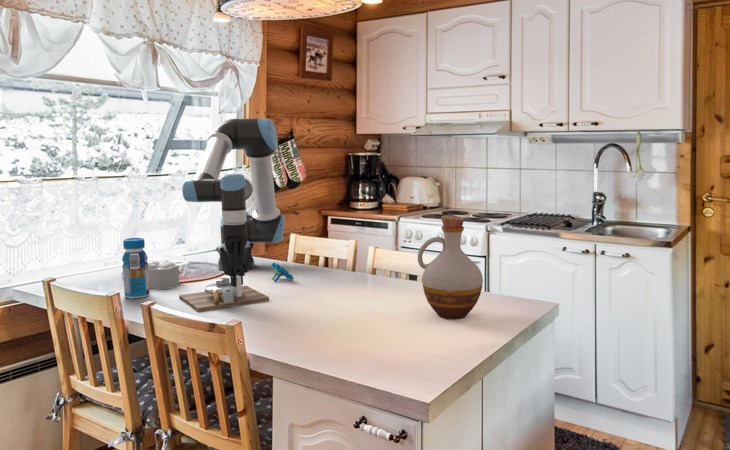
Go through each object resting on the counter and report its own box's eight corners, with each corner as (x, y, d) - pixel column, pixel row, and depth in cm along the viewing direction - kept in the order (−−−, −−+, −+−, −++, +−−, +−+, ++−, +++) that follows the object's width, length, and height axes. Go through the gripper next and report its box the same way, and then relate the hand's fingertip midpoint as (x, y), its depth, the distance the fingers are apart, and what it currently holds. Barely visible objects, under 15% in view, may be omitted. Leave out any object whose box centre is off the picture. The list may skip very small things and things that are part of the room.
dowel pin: (213, 303, 193) (212, 290, 192) (217, 302, 194) (217, 289, 193) (214, 304, 191) (214, 291, 191) (219, 304, 192) (219, 290, 192)
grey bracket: (203, 291, 206) (202, 277, 205) (238, 288, 210) (238, 274, 209) (209, 305, 188) (208, 289, 188) (247, 301, 192) (247, 286, 192)
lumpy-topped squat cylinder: (166, 289, 218) (164, 265, 217) (136, 287, 222) (134, 264, 221) (183, 283, 228) (181, 260, 227) (154, 281, 232) (152, 258, 231)
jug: (409, 320, 176) (408, 218, 172) (425, 305, 193) (425, 212, 188) (476, 327, 169) (477, 221, 165) (487, 310, 186) (488, 214, 182)
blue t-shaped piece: (298, 278, 226) (279, 261, 223) (288, 290, 224) (269, 273, 221) (288, 276, 236) (269, 260, 233) (278, 288, 234) (259, 272, 231)
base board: (179, 298, 204) (178, 289, 204) (246, 288, 217) (245, 280, 217) (197, 311, 188) (197, 302, 187) (269, 300, 201) (268, 291, 200)
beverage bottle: (118, 298, 206) (114, 240, 203) (136, 292, 214) (132, 236, 211) (138, 300, 203) (134, 241, 200) (155, 294, 211) (152, 237, 208)
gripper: (244, 220, 198) (247, 290, 201) (210, 224, 189) (213, 297, 192) (258, 222, 193) (261, 293, 196) (223, 226, 184) (226, 301, 187)
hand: (237, 295), depth 194 cm, fingers closed
